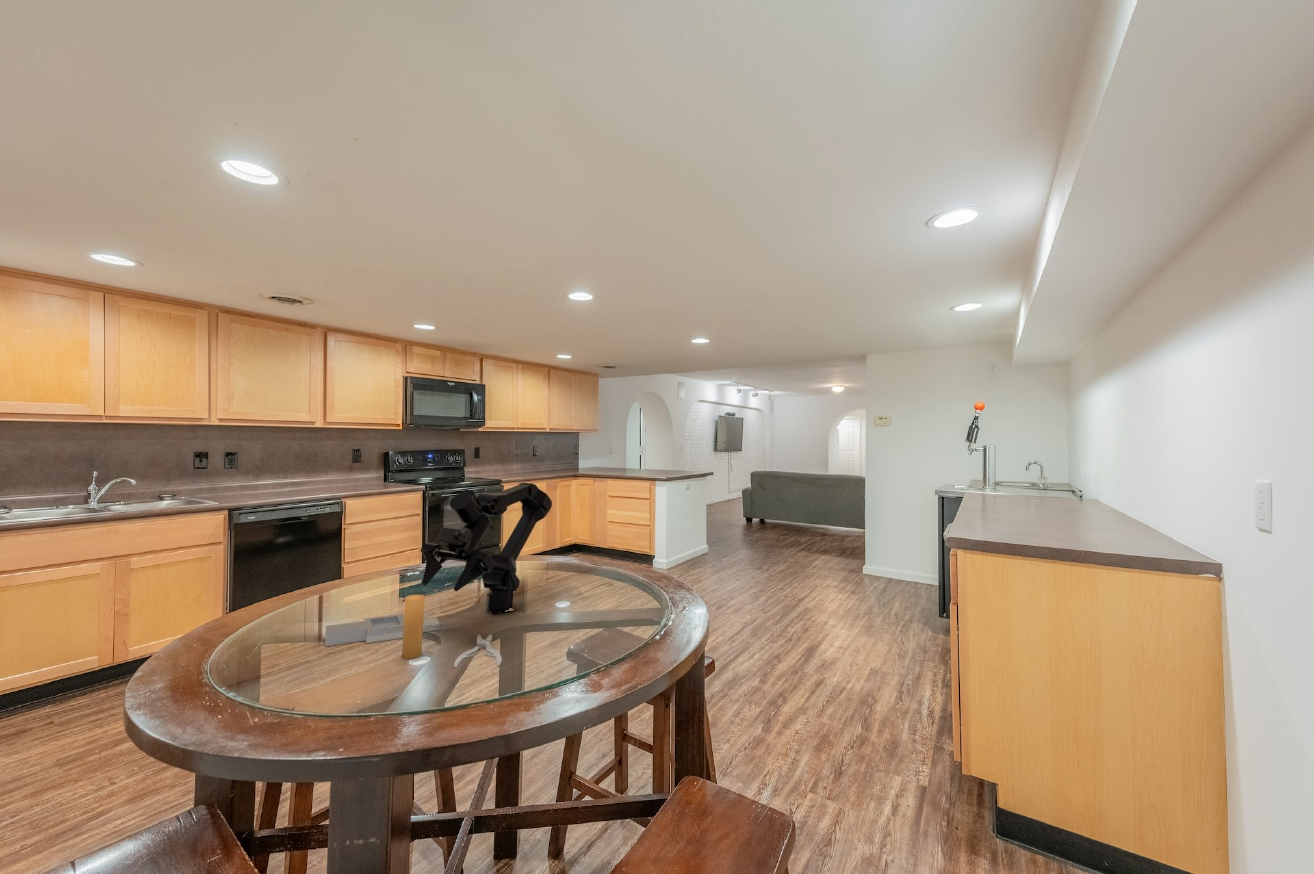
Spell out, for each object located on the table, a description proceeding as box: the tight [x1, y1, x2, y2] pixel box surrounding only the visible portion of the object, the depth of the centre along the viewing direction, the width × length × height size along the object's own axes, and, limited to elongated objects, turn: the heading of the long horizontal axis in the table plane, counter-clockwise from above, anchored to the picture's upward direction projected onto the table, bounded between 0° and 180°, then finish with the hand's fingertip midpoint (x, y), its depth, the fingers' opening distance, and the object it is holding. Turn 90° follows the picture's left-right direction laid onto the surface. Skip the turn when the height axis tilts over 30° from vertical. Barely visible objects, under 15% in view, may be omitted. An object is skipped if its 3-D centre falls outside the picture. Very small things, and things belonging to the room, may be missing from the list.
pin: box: [401, 594, 426, 660], centre depth 115 cm, size 4×4×13 cm
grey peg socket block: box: [324, 613, 441, 647], centre depth 126 cm, size 24×8×3 cm, turn 123°
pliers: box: [453, 634, 503, 669], centre depth 119 cm, size 10×2×15 cm
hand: (439, 587), depth 123 cm, fingers open, 9 cm apart
